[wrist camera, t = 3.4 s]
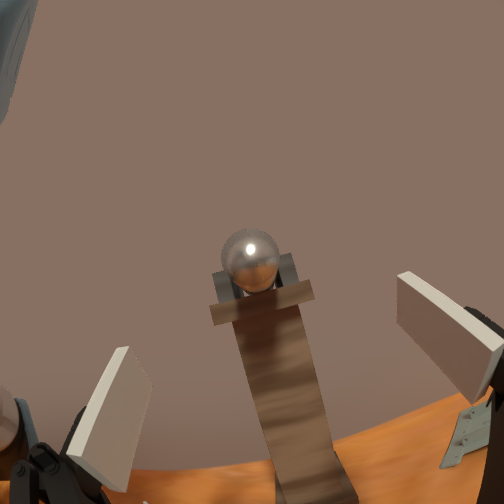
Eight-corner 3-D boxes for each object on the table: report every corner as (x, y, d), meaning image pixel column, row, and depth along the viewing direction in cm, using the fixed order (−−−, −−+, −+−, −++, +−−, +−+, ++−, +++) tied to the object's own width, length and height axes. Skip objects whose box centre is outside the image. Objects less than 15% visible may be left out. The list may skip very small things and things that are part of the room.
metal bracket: (521, 369, 22) (527, 422, 12) (528, 395, 19) (531, 452, 9) (452, 407, 31) (429, 462, 21) (460, 430, 28) (438, 487, 18)
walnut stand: (359, 505, 20) (300, 249, 27) (280, 526, 20) (202, 276, 27) (336, 459, 33) (289, 270, 41) (277, 474, 33) (224, 288, 41)
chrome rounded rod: (285, 279, 18) (273, 223, 19) (226, 290, 18) (216, 234, 19) (275, 295, 38) (270, 268, 39) (247, 301, 38) (242, 273, 39)
